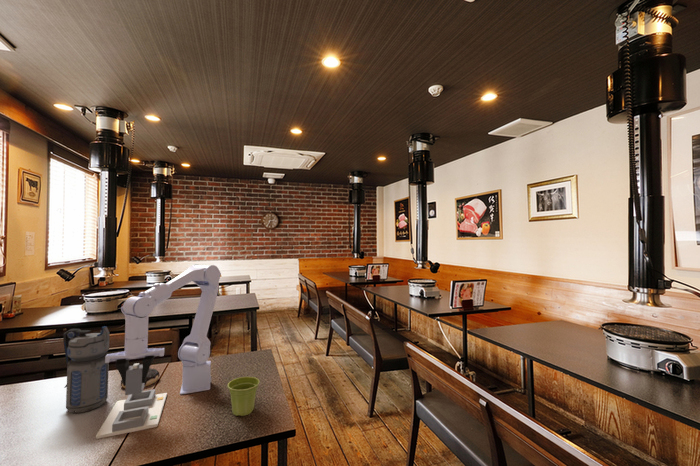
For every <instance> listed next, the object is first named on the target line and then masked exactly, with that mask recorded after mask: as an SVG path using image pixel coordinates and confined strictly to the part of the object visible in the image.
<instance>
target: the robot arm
mask: <svg viewBox="0 0 700 466" xmlns="http://www.w3.org/2000/svg"><path fill="white" fill-rule="evenodd" d="M221 274H222V272H221V271H220V269H219V268H218V266H217V265H214V264H212V265H206V264H205V265H204V264H193V265H191V266H189V267H187V268H186V269H185V271H183V272H181V273H180V274H178V275H177V276H176V277H174V278H172V279H171V280H169V281H167V282H166V283H164V282H160V283H159V282H155V283H154V284H152V285H153V286H152V287H150V288H148V289H147V290H145V291H140V292H139V293H138V295H137V296H135V295H134V296H131V297H128V298H127V299H125V301H124V302H123V304H122V306H121V307H120V310H121V312H122V314H123V315H124V320H125V326H124V351H118V352H114V353H113V352H112V353H106V354H107V355H106V356H105V363H108V362H109V363H110V362H115V364H114V365H115V369H117V372H118V373H119V374H120V377H121V380H122V381H123V386H126V370H127V369H128V368H129V366H130V360H136V359H142V358H143V359H142V362H141V363H142V364H143V376H142V383H145V382H146V378H147V374H148V371H149V368H151V366H152V364H153V361H154V360H155V359H154V358H155V357H164V355H165V347H159V348H156V347H155V348H154V347H152V348H148V347H149V346H148V343H149V341H148V340H149V316H150V315H151V313H152V312H153V311H154V309H155V308H156V307H157V306H159V305H161V304H162V303H163V302H165V301H166V300H168V299H169V298H171V297H172V295H173V292H174V291H176V290H178V289H181V288H182V287H184V286H186V285H187V284H189V283H191V282H192V283H194V284H195V285H197V286H198V287H199V289H200V290H201V294H200V298H199V302H198V306H197V308H196V309H197V310H196V313H195V316H194V321H193V323H192V327H191V330H190V334H189V335H187V336H185V338H184V339H183V341H182V344H181V346H180V347H179V348H178V352H177V357H178V359H179V360H180V361H181V364H182V373H181V374H182V381H181V382H182V383H181V387H180V391H179V395H186V394H192V393H198V392H199V393H200V392H204V391H209V390H211V382H212V376H211V374H212V371H211V368H212V367H211V366H212V365H211V364H212V361H211V360H208V359H209V358H210V355H211V341H210V339H209V338H208V333H209V328H210V324H211V320H212V318H213V317H212V315H213V313H214V308H215V305H216V301H217V297H218V292H219V288H220V286H219V284H220V283H219V282H220V279H221ZM142 364H141V365H142Z"/></svg>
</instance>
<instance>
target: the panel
mask: <svg viewBox="0 0 700 466" xmlns="http://www.w3.org/2000/svg"><path fill="white" fill-rule="evenodd" d="M167 396H168V392H164V393H157V394H156V388H153V389H148V390H143V391H142V393H137V394H131V395H127V397H126V399H121V400H117V401H116V402H115V404H114V405H113V407H112V409H111V410H110V412H109V414H108V416H106V418H105V421H104V422H103V423H102V425H101V427H100V429H98V432H97V433H96V436H95V440H98V439H102V438H103V439H104V438H107V437H113V436H118V435H119V436H120V435H123V434H124V435H125V434H128V433H132V432H133V433H134V432H138V431H143V430H149V429H152V428H153V429H154V428H157V427H158V426H159V423H160V419H161V417H162V412H163V409H164V406H165V403H166V399H167Z"/></svg>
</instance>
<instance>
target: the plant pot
mask: <svg viewBox="0 0 700 466" xmlns="http://www.w3.org/2000/svg"><path fill="white" fill-rule="evenodd" d="M259 385H260V379H259V378H257V377H255V376H240V377H236V378H234V379H232V380H230V381H229V382H228V383H227V388H228V391H229V393H230V394H229V395H230V399H231V400H230V403H231V411H232V414H233V415H234V416H241V417H244V416H248V415H250V414H251V413H252V412H253V411H254V409H255V401H256V396H257V390H258V387H259Z"/></svg>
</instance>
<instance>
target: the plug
mask: <svg viewBox="0 0 700 466" xmlns="http://www.w3.org/2000/svg"><path fill="white" fill-rule="evenodd" d="M142 376H143V364H140V362H138V363H137V362H136V363H135V362H134V363H133V365H129V367H128V369H127V370H126V387H125V388H124V390H125V391H124V396H128V395H131V394H137V393H142V391H144V389H145V386H144V384H145V383H142Z"/></svg>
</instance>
